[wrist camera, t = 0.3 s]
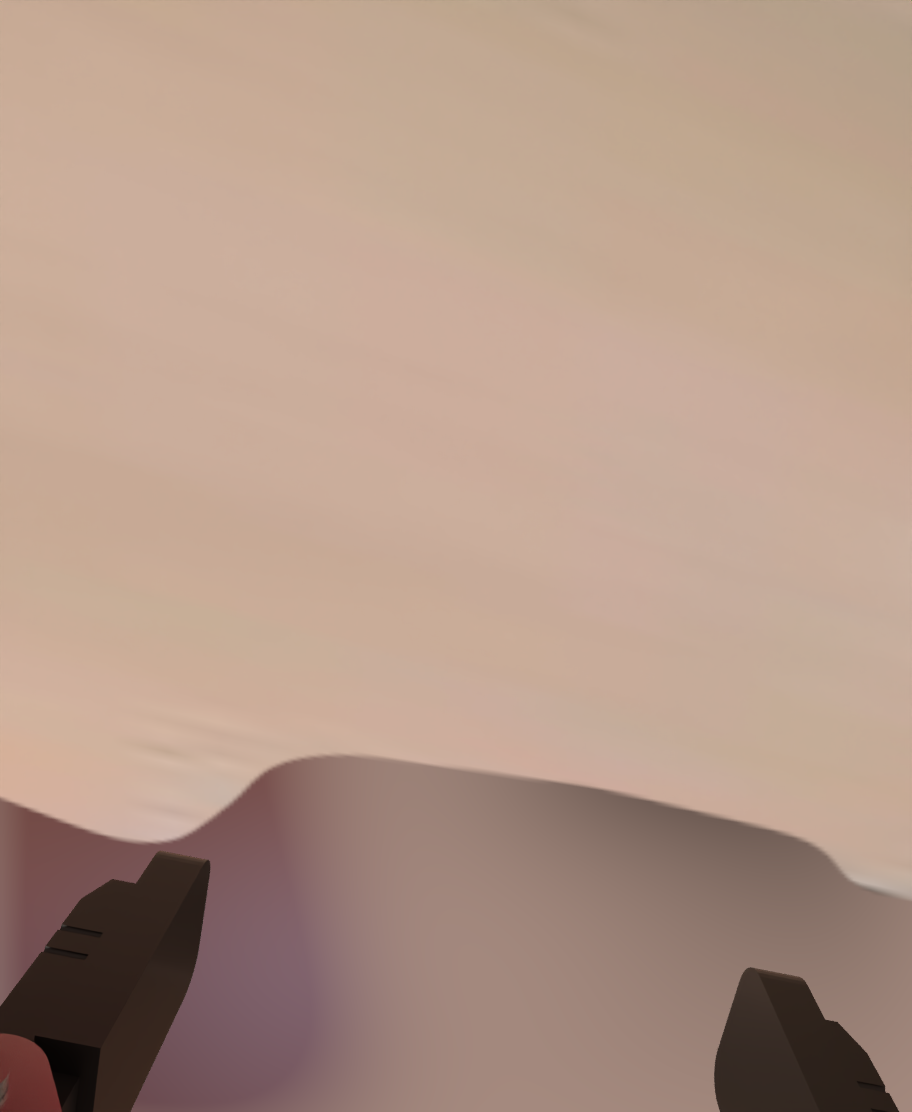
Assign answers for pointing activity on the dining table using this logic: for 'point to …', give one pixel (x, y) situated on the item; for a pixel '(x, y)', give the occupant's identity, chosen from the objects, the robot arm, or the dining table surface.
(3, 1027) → the robot arm
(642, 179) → the dining table surface
